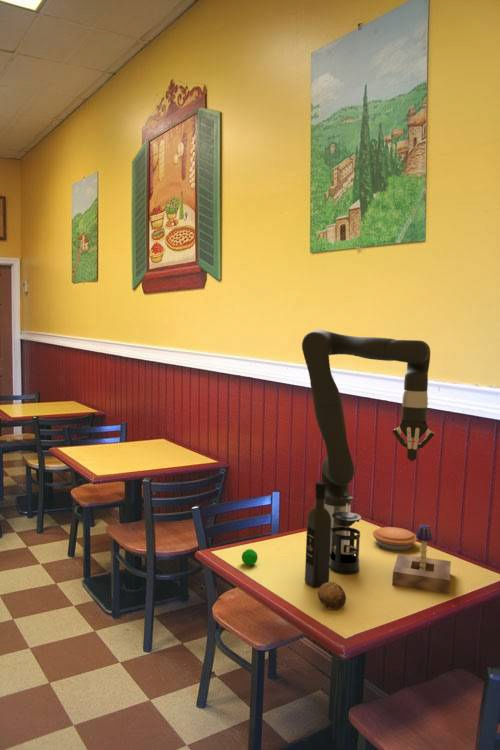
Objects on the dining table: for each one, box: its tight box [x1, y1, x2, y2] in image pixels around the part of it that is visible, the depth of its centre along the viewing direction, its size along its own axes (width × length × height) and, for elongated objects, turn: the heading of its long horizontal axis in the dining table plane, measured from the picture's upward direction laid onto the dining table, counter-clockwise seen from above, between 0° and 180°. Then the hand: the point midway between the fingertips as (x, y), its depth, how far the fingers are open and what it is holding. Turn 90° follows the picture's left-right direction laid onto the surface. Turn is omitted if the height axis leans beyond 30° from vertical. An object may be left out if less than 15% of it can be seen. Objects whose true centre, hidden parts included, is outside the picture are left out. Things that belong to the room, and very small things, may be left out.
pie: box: [372, 526, 418, 552], centre depth 216 cm, size 16×16×5 cm
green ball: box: [241, 548, 259, 566], centre depth 193 cm, size 5×5×5 cm
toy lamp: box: [415, 523, 433, 571], centre depth 185 cm, size 5×5×17 cm
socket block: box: [391, 553, 452, 595], centre depth 186 cm, size 16×16×4 cm
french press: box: [329, 495, 362, 575], centre depth 192 cm, size 12×9×23 cm
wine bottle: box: [304, 481, 331, 588], centre depth 179 cm, size 6×6×30 cm
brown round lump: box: [317, 581, 347, 611], centre depth 166 cm, size 8×8×6 cm
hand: (411, 460), depth 190 cm, fingers closed
